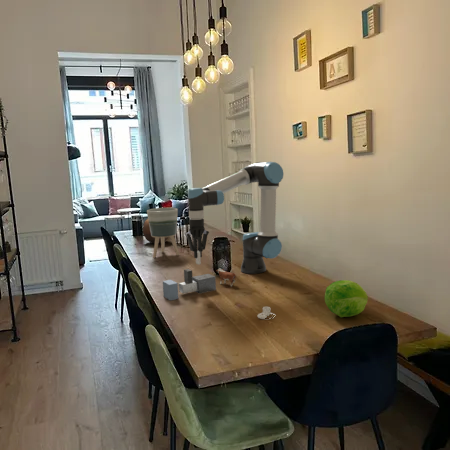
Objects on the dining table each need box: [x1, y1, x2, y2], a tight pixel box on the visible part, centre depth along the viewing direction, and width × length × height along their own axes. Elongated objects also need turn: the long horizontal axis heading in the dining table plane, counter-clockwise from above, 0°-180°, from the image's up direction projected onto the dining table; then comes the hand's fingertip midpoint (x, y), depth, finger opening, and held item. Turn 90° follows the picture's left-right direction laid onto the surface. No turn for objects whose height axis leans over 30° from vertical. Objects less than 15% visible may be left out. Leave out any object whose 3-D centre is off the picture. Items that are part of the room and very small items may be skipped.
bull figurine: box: [216, 268, 237, 287], centre depth 239 cm, size 4×13×8 cm, turn 45°
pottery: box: [142, 218, 169, 244], centre depth 360 cm, size 23×23×25 cm
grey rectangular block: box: [192, 273, 217, 295], centre depth 230 cm, size 10×7×7 cm
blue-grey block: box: [162, 279, 179, 301], centre depth 220 cm, size 4×8×8 cm, turn 31°
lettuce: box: [324, 279, 369, 318], centre depth 187 cm, size 17×20×15 cm
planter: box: [146, 207, 180, 259], centre depth 314 cm, size 22×22×33 cm
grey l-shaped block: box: [178, 268, 198, 295], centre depth 227 cm, size 17×4×11 cm, turn 121°
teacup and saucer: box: [257, 306, 277, 320], centre depth 190 cm, size 9×8×4 cm
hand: (198, 263), depth 227 cm, fingers closed
